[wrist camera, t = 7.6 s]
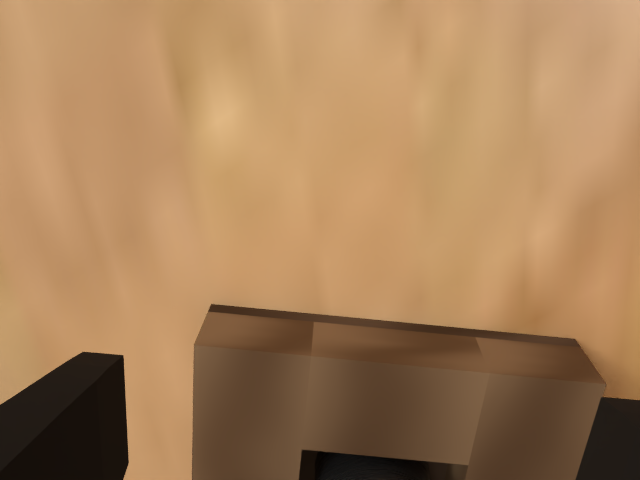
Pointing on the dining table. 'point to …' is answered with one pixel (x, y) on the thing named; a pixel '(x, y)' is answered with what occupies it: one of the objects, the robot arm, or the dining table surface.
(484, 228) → the dining table surface
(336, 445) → the socket block
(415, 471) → the pin
